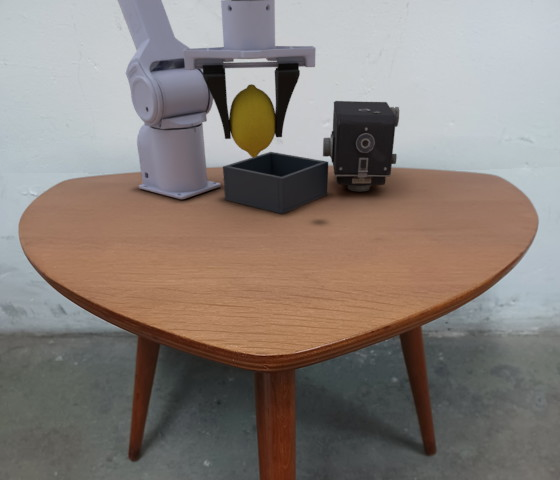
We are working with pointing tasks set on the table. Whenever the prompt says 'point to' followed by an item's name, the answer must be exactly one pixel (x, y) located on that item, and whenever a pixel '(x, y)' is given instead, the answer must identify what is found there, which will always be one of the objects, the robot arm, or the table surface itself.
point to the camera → (362, 143)
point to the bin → (275, 181)
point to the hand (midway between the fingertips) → (252, 136)
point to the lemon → (252, 120)
